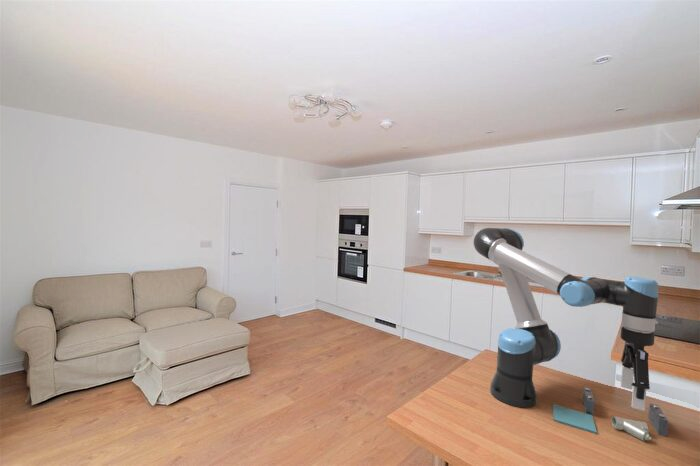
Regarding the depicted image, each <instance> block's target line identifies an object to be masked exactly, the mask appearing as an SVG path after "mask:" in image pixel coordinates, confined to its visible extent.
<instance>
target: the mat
mask: <svg viewBox="0 0 700 466" xmlns="http://www.w3.org/2000/svg"><path fill="white" fill-rule="evenodd" d="M552 413H553V421H554V422H556V423H559V424H562V425H567V426H569V427H572V428H575V429H579V430H582V431H586V432H589V433H592V434H595V435H597V433H598V431H597V429H596V425H595V420H594V417H593V416H592V415H589V414H586V412H581V411H578V410H575V409H570V408H568V407H565V406H564V407H563V406H561V405H557V404H552Z"/></svg>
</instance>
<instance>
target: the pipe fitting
mask: <svg viewBox="0 0 700 466" xmlns="http://www.w3.org/2000/svg"><path fill="white" fill-rule="evenodd" d="M611 425H612V427H613V428H614V429H615V430H621V431H624V432H625V433H627V434H628V435H629V434H630V435H631V436H633V437H634V438H636V439H638V440H641V441H642V442H646V441H651V440H652V439H653V438H652V436H651V435H650V434H649V430H650V429H649V427H648V424H647V422H643V421H639V420H633V419H629V418H622V417H619V416H616V415H615V416H614V415H612V416H611Z"/></svg>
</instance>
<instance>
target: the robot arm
mask: <svg viewBox="0 0 700 466" xmlns="http://www.w3.org/2000/svg"><path fill="white" fill-rule="evenodd" d="M524 244H525V241H524V238H523V236H522V235H521V234H520V232H519V231H517V230H515V229H513V228H508V227H500V228H499V227H498V228H497V227H485V228H482V229H480V230H479V231H478V232H477V233H476V234H475V235H474V238H473V247H474V249H475V251H476V252H477V253H478V254H479V255H481V256H483V257H484V258H486V259H487V260H489V261H491V262H493V263H494V264H495V265H496V266H498V267H499V271H500V273H501V276H502V280H503V284H504V287H505V289H506V293H507V296H508V298H509V301H510V304H511V308H512V311H513V313H514V316H515V320H516V325H515V326H514V328H506V329H504V330H503V329H502V331H500V332H499V336H498V341H497V345H498V346H497V356H496V357H497V360H496V370H495V373H494V376H493V377H492V380H491V383H490V384H489V385H490V386H489V387H490V388H489V392H490V394H491V395H492V396H493V398H495V399H497V400H498V401H500V402H502V403H504V404H507V405H509V406H513V407H516V408H532V407H534V406H536V405H537V400H538V396H537V391H536V388H535V384H534V381H533V374H534V366H535V365H539V364H542V363H545V362H546V363H547V362H550V361H552V360H553V359H555V358H556V357H558V355H559V354H560V352H561V348H562V347H561V346H562V345H561V340H560V338H559V335H557V334H556V332H554V331H553V330H552V329H550V327H549V324H548V322H547V321H545V320H543V319H542V317H541V315H540V312H539V309H538V306H537V303H536V300H535V298H534V295H533V292H532V289H531V286H530V283H529V281H528V279H530V280H531V281H533V282H535V283H537V284H539V285H540V286H543V287H544V288H546V289H548V290H550V291H552V292H553V293H555V294H557V295H559V296H560V298H561V300H562V301H563V302H564V303H565V304H567V305H569V306H571V307H573V308H574V307H575V308H576V307H577V308H578V307H580V308H582V307H588V306H592V305H595V304H601V303H605V304H610V305H613V306H615V305H616V306H620V307H622V312H621V327H620V339H621V340H623V341H624V348H623V351H622V355H621V359H620V361H621V365H622V368H621V370H622V371H621V381H620V387H621V388H624V389H629V390H632V395H631V408H633V409H636V410H640V411H645V409H646V397H647V390H649V391H650V374H649V352H647V351H646V350H645V347H651V346H654V345H655V336H656V335H655V333H654V332H655V331H656V325H658V324H659V321H658V320H657V310H658V301H659V297H660V295H659V283H658V282H657V281H656V280H654V279H651V278H645V277H638V276H627V277H625V280H624V281H617V280H612V279H611V280H610V279H606V278H605V279H604V278H600V277H599V278H598V277H596V276H595V277H594V276H593V277H592V276H584V277H581V278H580V277H577V276H575V275H572V274H571V273H569V272H567V271H565V270H563V269H561V268H559V267H556V266H554V265H553V264H551V263H548V262H547V261H545V260H542V259H540V258H539V257H536V256H534V255H532V254H530V253H527V252H525V251H523V248H524V247H525V245H524Z"/></svg>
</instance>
